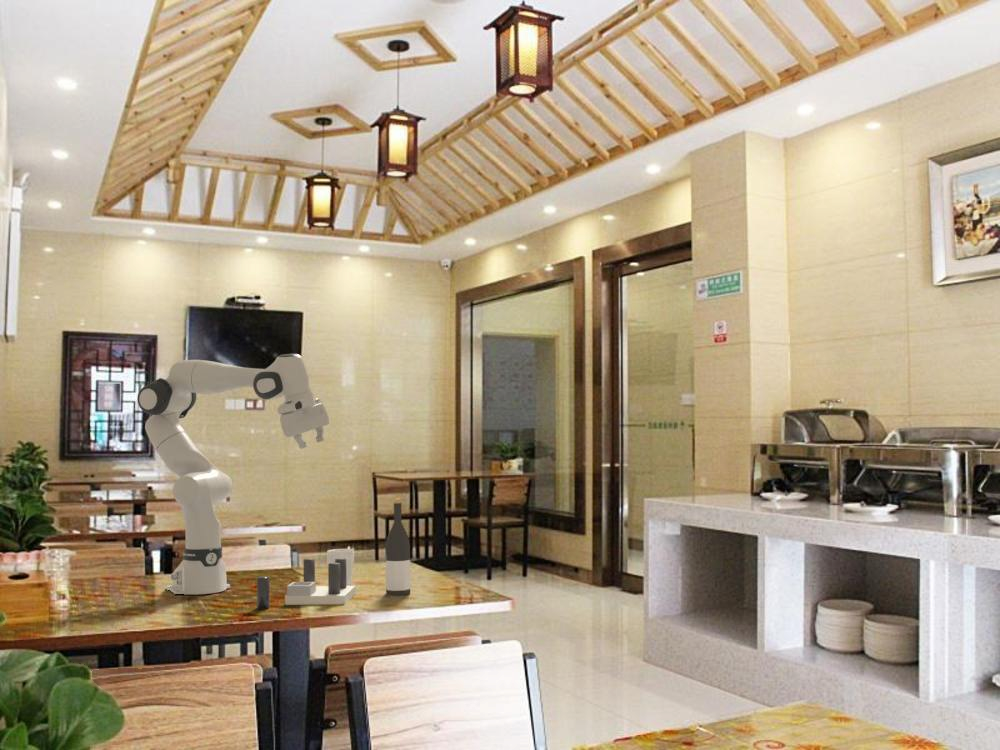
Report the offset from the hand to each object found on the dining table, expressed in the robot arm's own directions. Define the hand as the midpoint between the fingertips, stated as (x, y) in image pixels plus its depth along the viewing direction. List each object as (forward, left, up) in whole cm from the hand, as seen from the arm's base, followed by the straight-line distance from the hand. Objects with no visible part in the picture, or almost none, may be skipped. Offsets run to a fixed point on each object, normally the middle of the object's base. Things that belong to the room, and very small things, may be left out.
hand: (311, 444), depth 292 cm
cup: (-7, +16, -48) cm, 51 cm away
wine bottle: (+18, +21, -48) cm, 55 cm away
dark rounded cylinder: (+8, -21, -48) cm, 53 cm away
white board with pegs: (+8, -1, -48) cm, 48 cm away
